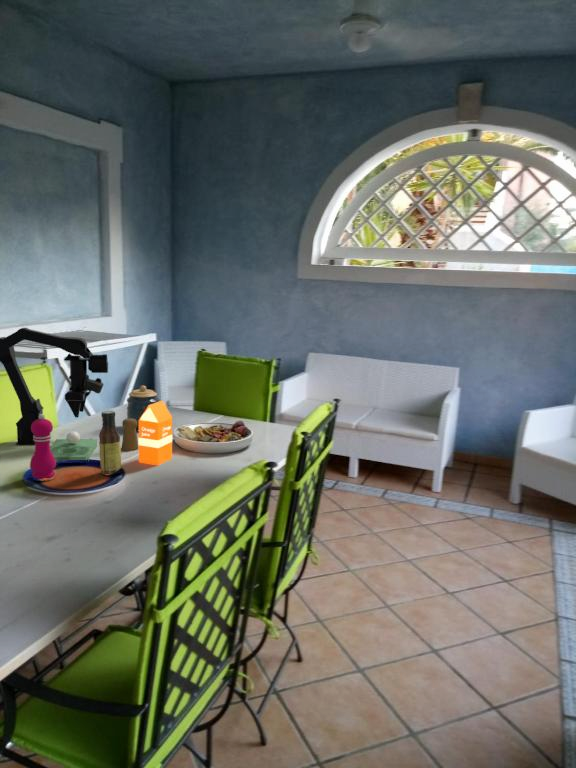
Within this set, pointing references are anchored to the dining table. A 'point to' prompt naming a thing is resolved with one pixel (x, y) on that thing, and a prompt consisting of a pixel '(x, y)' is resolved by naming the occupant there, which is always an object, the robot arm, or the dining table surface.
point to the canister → (140, 402)
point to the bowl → (213, 437)
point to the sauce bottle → (109, 444)
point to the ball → (73, 437)
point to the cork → (129, 435)
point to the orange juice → (155, 435)
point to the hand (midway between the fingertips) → (79, 414)
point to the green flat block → (73, 449)
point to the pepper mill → (42, 449)
